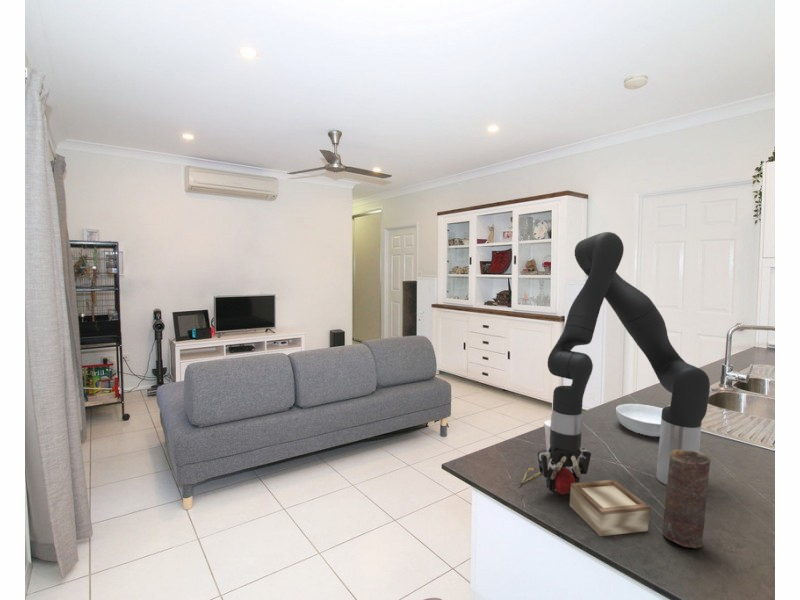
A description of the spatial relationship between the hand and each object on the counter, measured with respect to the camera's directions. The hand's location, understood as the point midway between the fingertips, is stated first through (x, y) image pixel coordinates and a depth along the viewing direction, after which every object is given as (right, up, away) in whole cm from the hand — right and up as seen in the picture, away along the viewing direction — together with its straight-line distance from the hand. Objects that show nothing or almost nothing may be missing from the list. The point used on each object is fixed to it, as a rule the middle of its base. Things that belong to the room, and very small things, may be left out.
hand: (562, 489), depth 112 cm
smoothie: (+6, +1, +23) cm, 24 cm away
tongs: (-6, -1, +8) cm, 10 cm away
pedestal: (+7, -2, -10) cm, 12 cm away
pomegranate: (0, -1, 0) cm, 1 cm away
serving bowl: (+46, +2, +42) cm, 62 cm away
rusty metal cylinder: (+19, -4, -18) cm, 27 cm away
